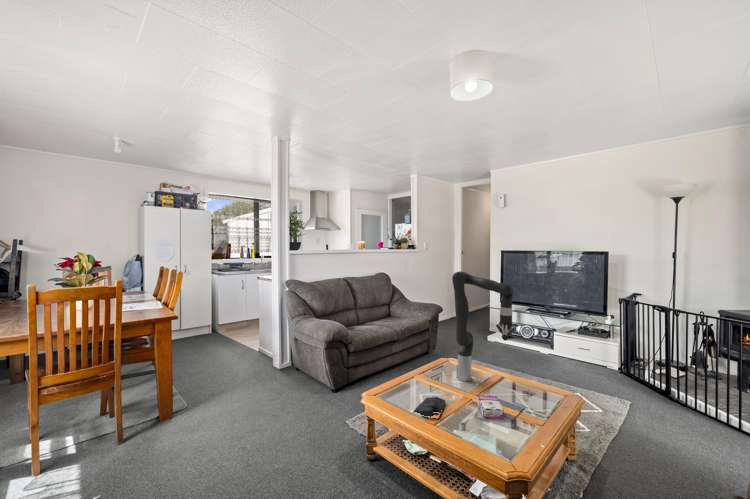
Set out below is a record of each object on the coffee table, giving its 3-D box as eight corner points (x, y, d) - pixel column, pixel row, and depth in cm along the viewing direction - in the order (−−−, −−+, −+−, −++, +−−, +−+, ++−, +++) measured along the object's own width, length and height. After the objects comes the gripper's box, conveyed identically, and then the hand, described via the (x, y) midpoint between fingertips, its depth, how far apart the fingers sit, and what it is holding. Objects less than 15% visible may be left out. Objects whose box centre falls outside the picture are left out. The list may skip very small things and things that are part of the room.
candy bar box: (476, 402, 192) (482, 417, 176) (476, 394, 192) (482, 408, 176) (496, 404, 191) (504, 418, 175) (496, 395, 191) (504, 409, 175)
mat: (485, 410, 184) (485, 409, 184) (498, 399, 197) (498, 398, 197) (512, 420, 174) (512, 419, 174) (524, 408, 187) (524, 407, 187)
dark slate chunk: (449, 404, 192) (449, 396, 192) (437, 422, 173) (438, 413, 173) (425, 398, 199) (425, 390, 199) (411, 414, 180) (411, 406, 180)
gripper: (493, 313, 215) (493, 339, 215) (513, 316, 206) (513, 343, 206) (498, 311, 220) (498, 336, 221) (518, 314, 211) (517, 341, 211)
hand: (505, 340), depth 213 cm, fingers closed
